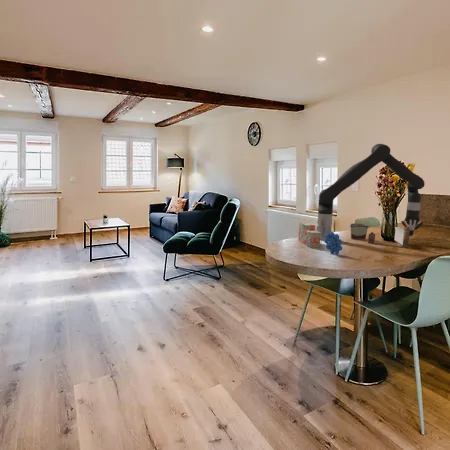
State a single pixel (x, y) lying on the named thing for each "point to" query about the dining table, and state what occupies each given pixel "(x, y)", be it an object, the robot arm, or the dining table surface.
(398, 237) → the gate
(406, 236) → the hinge post
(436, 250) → the dining table surface
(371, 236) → the latch post
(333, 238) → the grapes
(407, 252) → the dining table surface
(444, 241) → the dining table surface
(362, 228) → the food container
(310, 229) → the stack of blocks
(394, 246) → the sill
